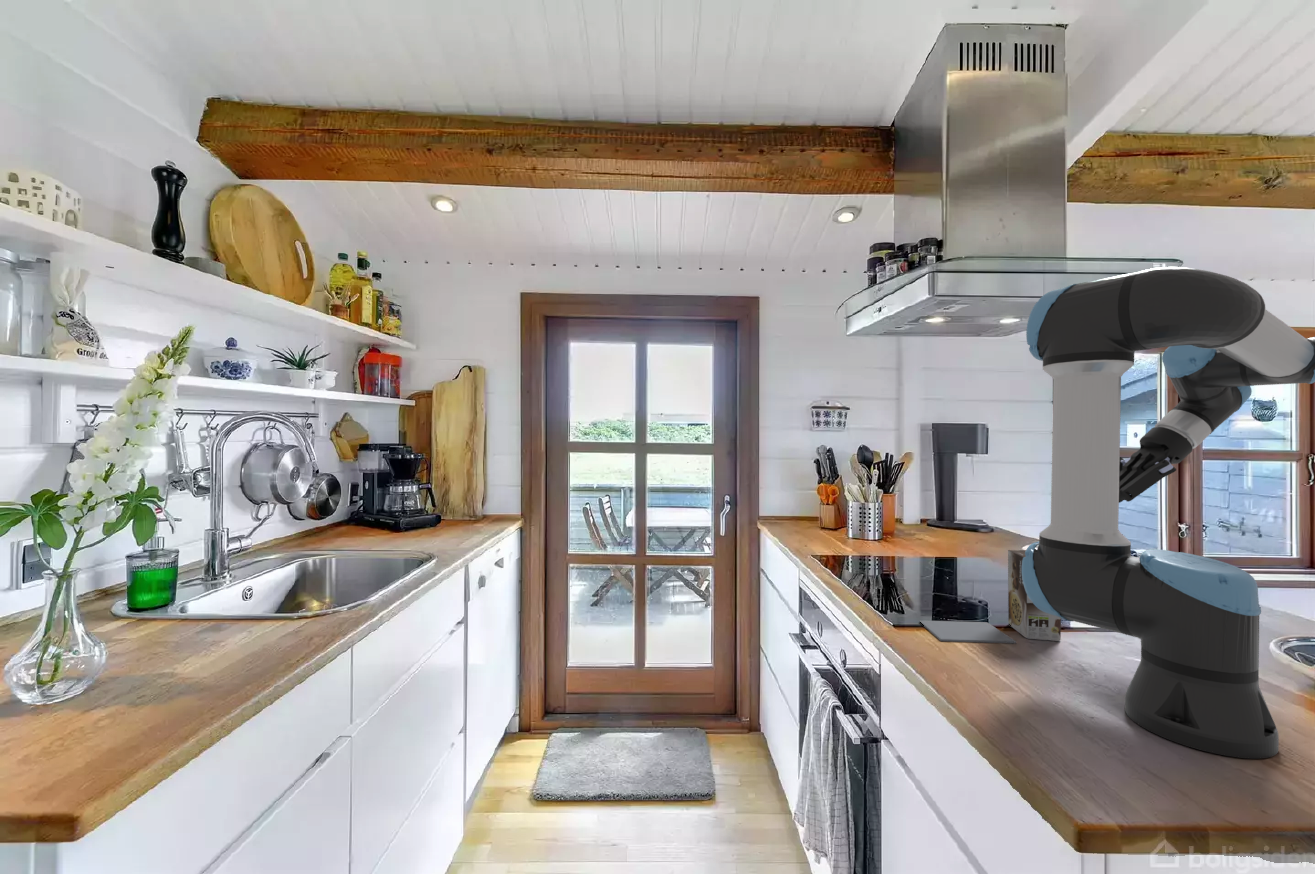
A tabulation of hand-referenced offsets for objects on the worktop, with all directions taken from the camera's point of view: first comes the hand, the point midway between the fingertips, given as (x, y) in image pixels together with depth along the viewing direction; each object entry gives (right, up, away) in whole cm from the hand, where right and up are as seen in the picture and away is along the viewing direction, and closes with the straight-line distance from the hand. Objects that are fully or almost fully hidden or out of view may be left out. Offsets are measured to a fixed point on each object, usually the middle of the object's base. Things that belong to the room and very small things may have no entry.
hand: (1084, 520), depth 113 cm
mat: (-24, -23, +1) cm, 33 cm away
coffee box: (-10, -23, +1) cm, 25 cm away
